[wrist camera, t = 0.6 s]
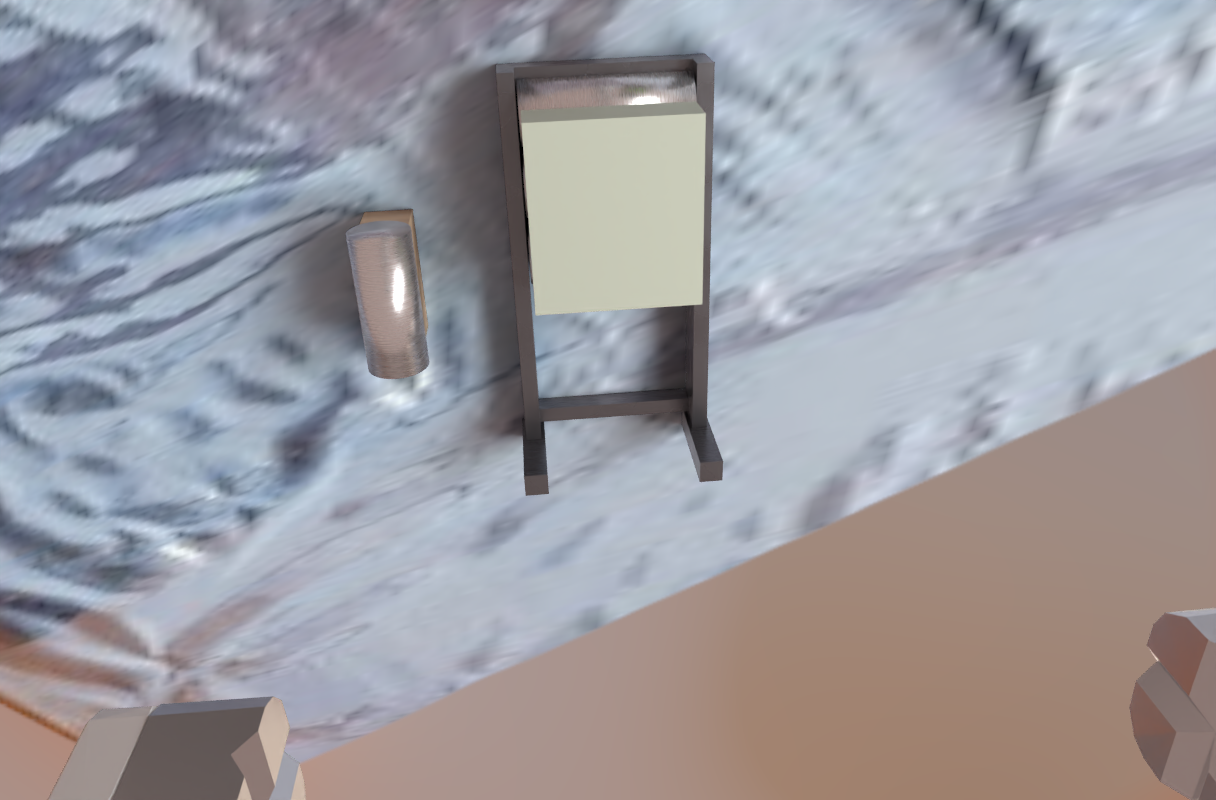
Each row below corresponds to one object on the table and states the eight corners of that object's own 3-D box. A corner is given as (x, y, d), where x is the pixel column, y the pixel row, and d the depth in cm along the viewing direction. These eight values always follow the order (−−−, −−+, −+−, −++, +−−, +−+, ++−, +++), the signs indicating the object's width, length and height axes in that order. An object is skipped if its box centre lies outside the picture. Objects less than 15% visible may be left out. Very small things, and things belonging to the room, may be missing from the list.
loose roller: (350, 222, 46) (340, 243, 43) (413, 218, 46) (408, 239, 43) (372, 353, 49) (364, 380, 47) (431, 349, 49) (426, 376, 47)
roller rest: (364, 212, 48) (357, 228, 46) (412, 209, 48) (408, 225, 46) (382, 328, 51) (377, 348, 49) (428, 325, 52) (424, 345, 49)
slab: (520, 110, 43) (521, 122, 41) (695, 101, 44) (705, 113, 42) (534, 294, 48) (535, 315, 46) (693, 284, 48) (702, 304, 46)
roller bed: (491, 64, 45) (489, 89, 40) (709, 53, 46) (735, 77, 41) (524, 436, 55) (525, 495, 50) (702, 423, 56) (722, 480, 51)
